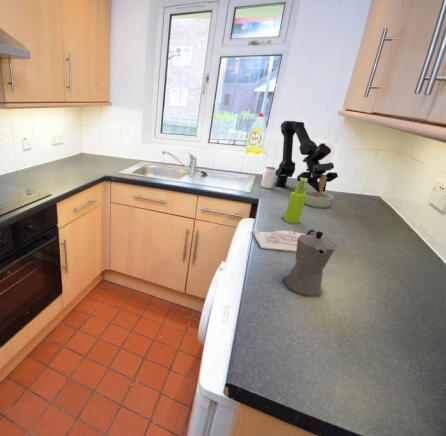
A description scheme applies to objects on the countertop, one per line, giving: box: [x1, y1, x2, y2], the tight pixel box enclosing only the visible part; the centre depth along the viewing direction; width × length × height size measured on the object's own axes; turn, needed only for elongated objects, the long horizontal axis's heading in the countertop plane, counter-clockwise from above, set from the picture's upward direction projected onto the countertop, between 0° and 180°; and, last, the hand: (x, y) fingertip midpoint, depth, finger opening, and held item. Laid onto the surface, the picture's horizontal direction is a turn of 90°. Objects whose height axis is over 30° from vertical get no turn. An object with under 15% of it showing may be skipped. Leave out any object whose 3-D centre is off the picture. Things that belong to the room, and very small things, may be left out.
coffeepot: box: [284, 229, 338, 297], centre depth 85 cm, size 15×9×18 cm, turn 159°
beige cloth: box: [251, 229, 306, 253], centre depth 113 cm, size 17×23×5 cm
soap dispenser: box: [283, 177, 307, 224], centre depth 130 cm, size 6×7×20 cm
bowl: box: [304, 190, 334, 209], centre depth 156 cm, size 13×13×5 cm
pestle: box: [312, 176, 327, 199], centre depth 153 cm, size 5×5×14 cm
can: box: [260, 166, 277, 189], centre depth 180 cm, size 6×6×12 cm
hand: (321, 191), depth 152 cm, fingers closed on pestle, 2 cm apart
